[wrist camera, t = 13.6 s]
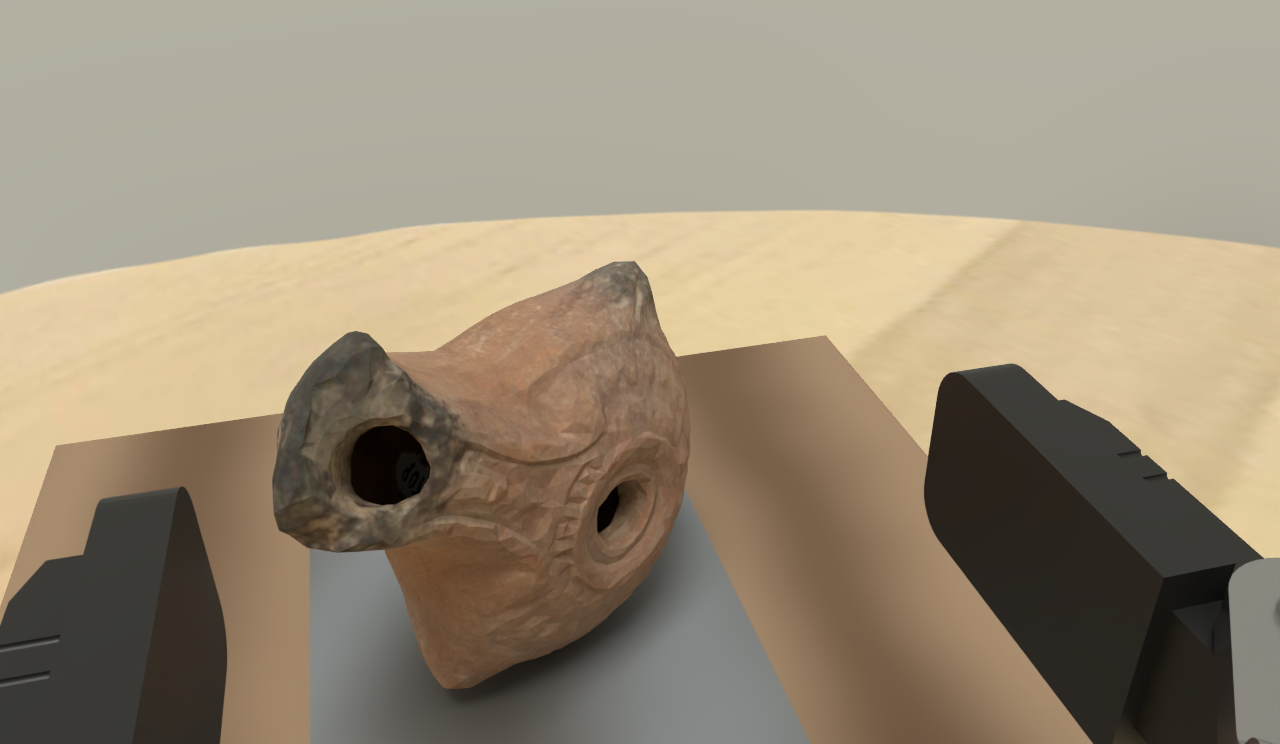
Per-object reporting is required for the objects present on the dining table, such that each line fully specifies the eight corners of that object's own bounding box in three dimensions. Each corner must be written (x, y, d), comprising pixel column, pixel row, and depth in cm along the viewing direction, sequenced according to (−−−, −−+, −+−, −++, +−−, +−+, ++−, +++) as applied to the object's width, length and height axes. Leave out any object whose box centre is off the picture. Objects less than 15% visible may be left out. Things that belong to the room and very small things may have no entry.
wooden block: (817, 424, 32) (826, 322, 30) (1176, 919, 19) (1230, 790, 17) (89, 542, 28) (50, 431, 26) (-108, 1286, 15) (-213, 1165, 13)
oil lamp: (444, 906, 16) (365, 447, 11) (251, 783, 17) (124, 350, 13) (734, 554, 22) (750, 179, 18) (571, 491, 24) (551, 139, 20)
